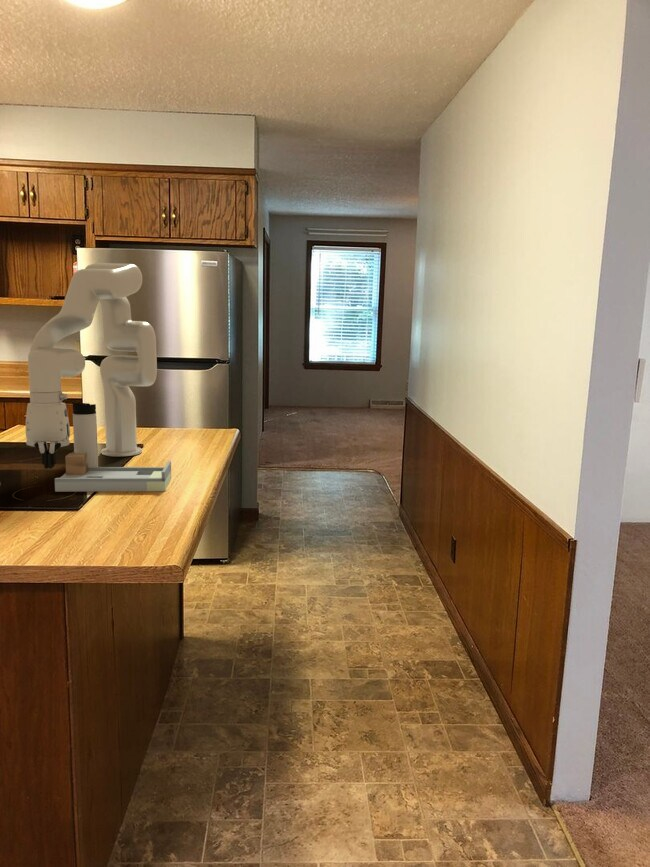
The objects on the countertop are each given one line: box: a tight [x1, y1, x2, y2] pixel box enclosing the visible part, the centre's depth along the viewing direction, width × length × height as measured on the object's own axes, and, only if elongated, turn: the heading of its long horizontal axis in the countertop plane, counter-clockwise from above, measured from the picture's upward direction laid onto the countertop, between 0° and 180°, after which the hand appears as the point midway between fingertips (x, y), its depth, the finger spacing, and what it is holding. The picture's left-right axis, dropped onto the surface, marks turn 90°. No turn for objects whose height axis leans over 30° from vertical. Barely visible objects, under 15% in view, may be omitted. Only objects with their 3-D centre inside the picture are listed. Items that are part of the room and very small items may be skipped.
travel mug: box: [71, 401, 99, 467], centre depth 180 cm, size 6×7×20 cm
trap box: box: [54, 460, 172, 493], centre depth 167 cm, size 13×27×5 cm, turn 96°
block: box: [64, 452, 88, 475], centre depth 168 cm, size 4×4×5 cm
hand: (49, 467), depth 168 cm, fingers closed
